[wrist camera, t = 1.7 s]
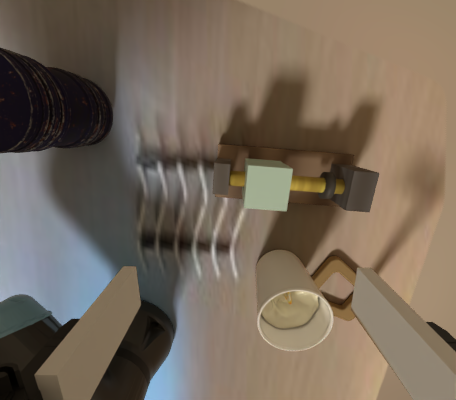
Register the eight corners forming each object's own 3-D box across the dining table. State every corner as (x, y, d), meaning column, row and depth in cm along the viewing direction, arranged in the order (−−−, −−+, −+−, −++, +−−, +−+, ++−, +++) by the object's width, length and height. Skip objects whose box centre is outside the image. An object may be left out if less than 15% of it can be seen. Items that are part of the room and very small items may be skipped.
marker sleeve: (241, 192, 35) (243, 207, 28) (245, 158, 33) (248, 165, 26) (275, 195, 35) (286, 211, 28) (280, 161, 33) (293, 168, 26)
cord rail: (215, 194, 39) (211, 210, 30) (219, 143, 36) (214, 147, 28) (338, 203, 39) (366, 223, 30) (349, 154, 36) (382, 160, 28)
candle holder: (305, 242, 41) (334, 286, 29) (307, 291, 43) (333, 349, 32) (248, 247, 41) (254, 292, 30) (253, 295, 44) (260, 353, 32)
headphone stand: (331, 252, 41) (436, 380, 20) (380, 283, 42) (525, 432, 21) (294, 295, 44) (352, 449, 22) (341, 322, 45) (436, 491, 24)
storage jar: (123, 136, 36) (52, 138, 22) (66, 154, 37) (-38, 167, 23) (96, 66, 34) (-5, 18, 20) (36, 87, 35) (-103, 57, 20)
